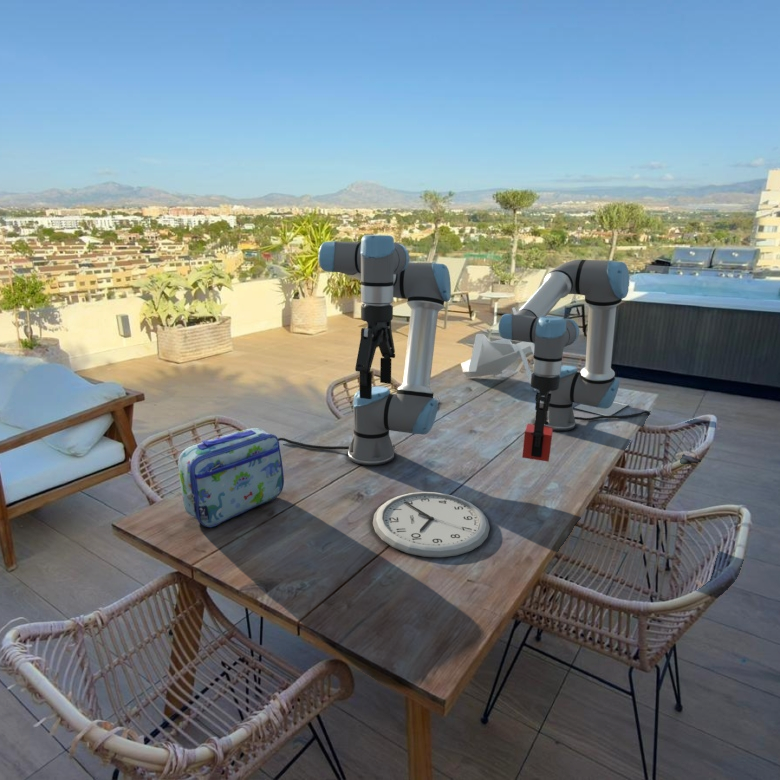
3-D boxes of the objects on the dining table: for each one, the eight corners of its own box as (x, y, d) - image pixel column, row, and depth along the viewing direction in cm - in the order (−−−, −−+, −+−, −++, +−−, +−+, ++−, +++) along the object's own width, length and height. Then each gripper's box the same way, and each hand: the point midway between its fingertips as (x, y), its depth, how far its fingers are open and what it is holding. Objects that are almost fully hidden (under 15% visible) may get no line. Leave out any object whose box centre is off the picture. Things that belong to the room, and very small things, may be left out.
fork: (425, 410, 217) (425, 406, 216) (435, 399, 231) (435, 395, 231) (431, 411, 216) (431, 407, 215) (441, 400, 230) (441, 396, 230)
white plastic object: (482, 419, 265) (461, 396, 241) (463, 346, 287) (443, 319, 263) (553, 395, 253) (539, 368, 228) (528, 321, 275) (513, 290, 250)
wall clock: (504, 548, 122) (376, 553, 119) (504, 554, 122) (376, 559, 120) (474, 487, 150) (370, 490, 148) (473, 492, 151) (370, 495, 148)
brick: (524, 448, 155) (527, 423, 152) (550, 452, 152) (553, 427, 150) (522, 457, 148) (524, 431, 146) (548, 461, 146) (551, 435, 144)
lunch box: (198, 536, 127) (190, 457, 121) (179, 518, 135) (170, 443, 128) (288, 499, 145) (285, 429, 139) (267, 486, 152) (263, 418, 146)
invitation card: (608, 416, 214) (573, 407, 224) (608, 416, 214) (573, 408, 224) (628, 404, 229) (594, 396, 238) (628, 405, 229) (594, 397, 238)
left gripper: (380, 296, 135) (379, 375, 141) (339, 309, 112) (340, 403, 118) (408, 298, 132) (406, 378, 139) (372, 312, 110) (371, 407, 116)
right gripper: (535, 364, 153) (527, 436, 160) (528, 381, 135) (520, 462, 142) (561, 366, 151) (553, 440, 158) (558, 385, 133) (548, 467, 140)
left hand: (376, 390), depth 129 cm, fingers open, 13 cm apart
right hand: (537, 450), depth 150 cm, fingers closed on brick, 7 cm apart
